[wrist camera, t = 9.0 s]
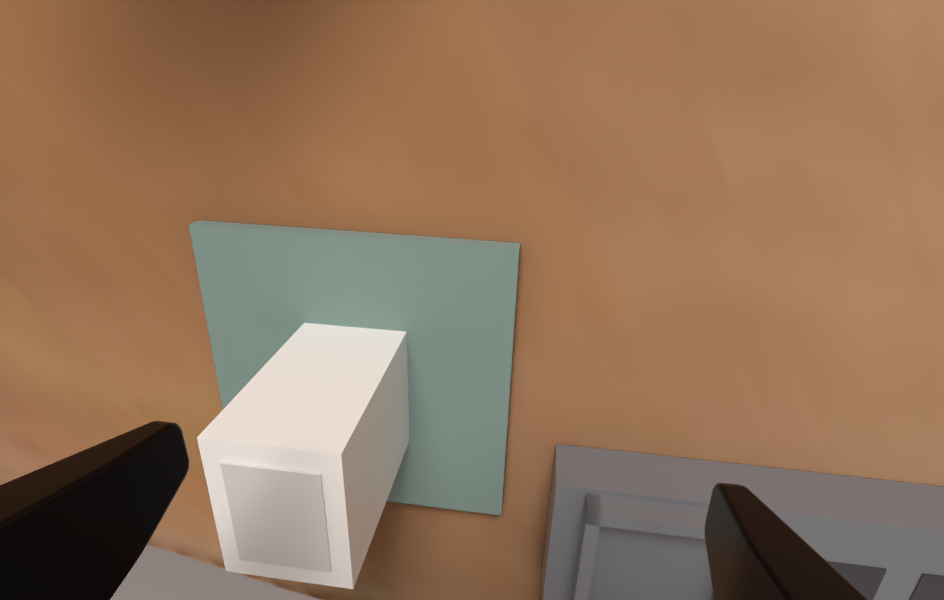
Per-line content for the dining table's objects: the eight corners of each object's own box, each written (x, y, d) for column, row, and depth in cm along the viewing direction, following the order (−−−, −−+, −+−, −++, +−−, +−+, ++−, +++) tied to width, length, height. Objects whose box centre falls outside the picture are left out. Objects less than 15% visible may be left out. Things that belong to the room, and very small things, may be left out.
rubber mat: (520, 243, 19) (519, 248, 19) (502, 505, 24) (501, 515, 24) (198, 220, 21) (188, 224, 20) (243, 473, 26) (236, 482, 25)
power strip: (1046, 498, 21) (1132, 576, 18) (969, 628, 24) (1031, 715, 20) (556, 443, 23) (556, 505, 20) (541, 570, 26) (539, 641, 22)
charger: (406, 331, 21) (339, 456, 14) (409, 440, 23) (352, 592, 16) (304, 322, 21) (194, 440, 15) (316, 429, 23) (224, 573, 17)
